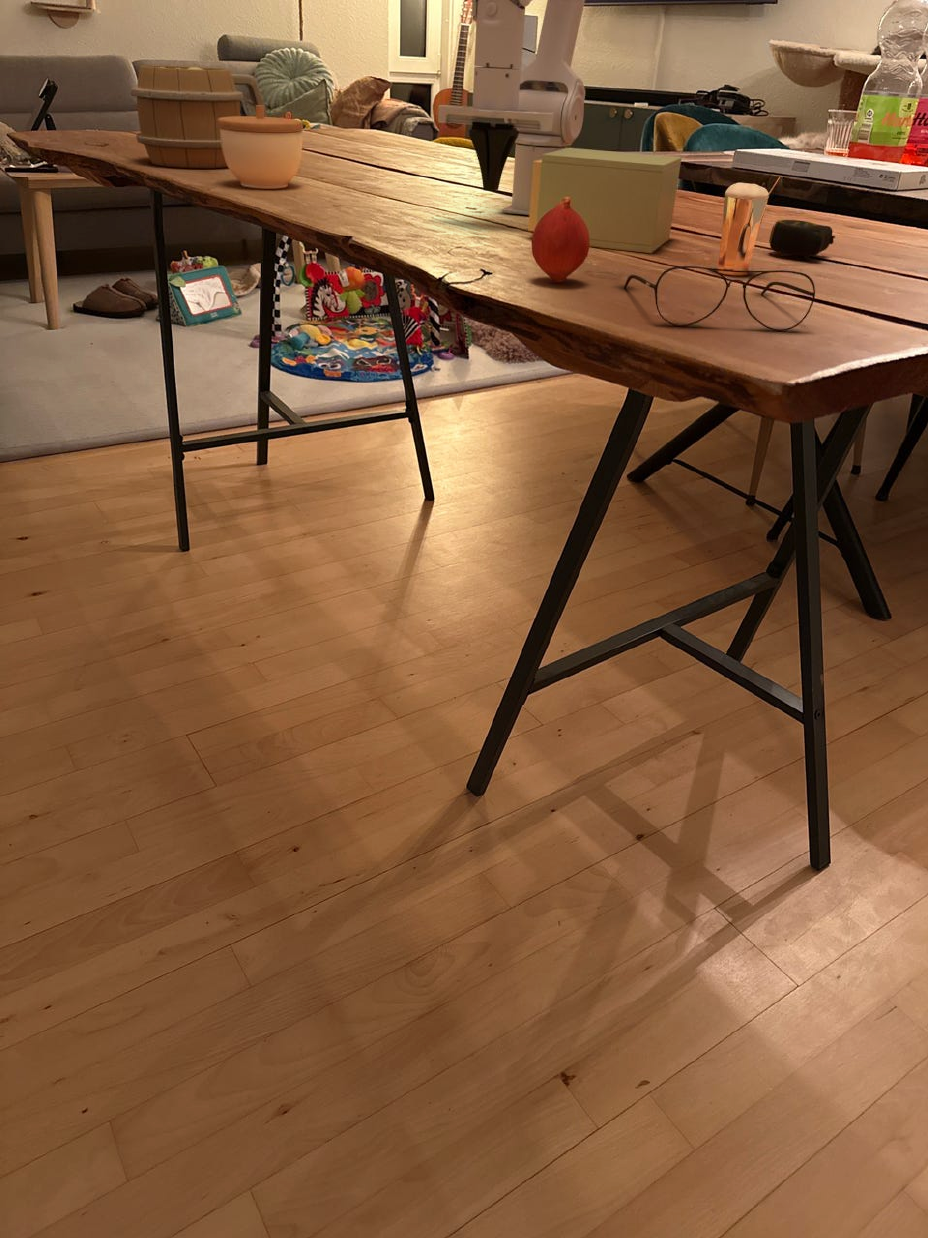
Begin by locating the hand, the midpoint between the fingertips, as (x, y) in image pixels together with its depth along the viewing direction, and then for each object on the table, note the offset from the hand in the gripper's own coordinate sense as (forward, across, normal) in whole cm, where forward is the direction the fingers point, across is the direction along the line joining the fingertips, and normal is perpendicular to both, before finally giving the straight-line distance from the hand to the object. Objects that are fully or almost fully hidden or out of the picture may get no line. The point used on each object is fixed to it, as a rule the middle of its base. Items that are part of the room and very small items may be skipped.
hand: (490, 189), depth 120 cm
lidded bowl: (+5, -42, +14) cm, 45 cm away
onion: (+4, +17, -28) cm, 33 cm away
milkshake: (+5, +34, -12) cm, 36 cm away
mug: (+5, -65, +33) cm, 73 cm away
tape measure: (+5, +40, +4) cm, 40 cm away
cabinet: (+4, +16, 0) cm, 16 cm away
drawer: (+4, +13, 0) cm, 14 cm away
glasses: (+5, +33, -31) cm, 46 cm away
